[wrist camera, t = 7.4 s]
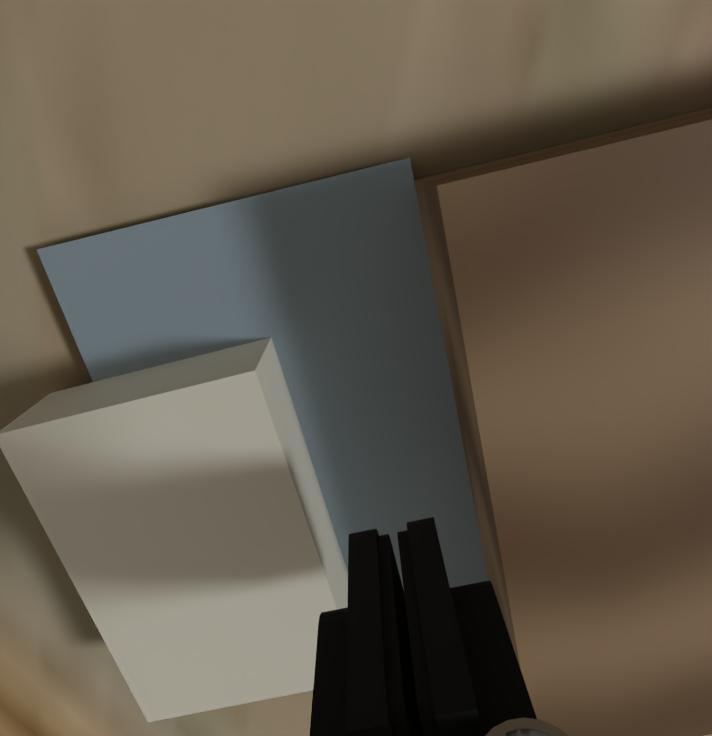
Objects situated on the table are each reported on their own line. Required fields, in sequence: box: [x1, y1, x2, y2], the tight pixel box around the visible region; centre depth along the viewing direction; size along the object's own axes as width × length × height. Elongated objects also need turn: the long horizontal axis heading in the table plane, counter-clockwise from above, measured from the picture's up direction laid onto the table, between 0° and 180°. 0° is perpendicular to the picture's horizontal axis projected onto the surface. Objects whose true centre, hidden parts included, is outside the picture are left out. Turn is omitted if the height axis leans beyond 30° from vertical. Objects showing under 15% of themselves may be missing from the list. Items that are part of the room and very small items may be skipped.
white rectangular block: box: [0, 337, 348, 722], centre depth 14 cm, size 9×6×2 cm, turn 14°
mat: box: [37, 158, 489, 590], centre depth 15 cm, size 15×9×1 cm, turn 13°
